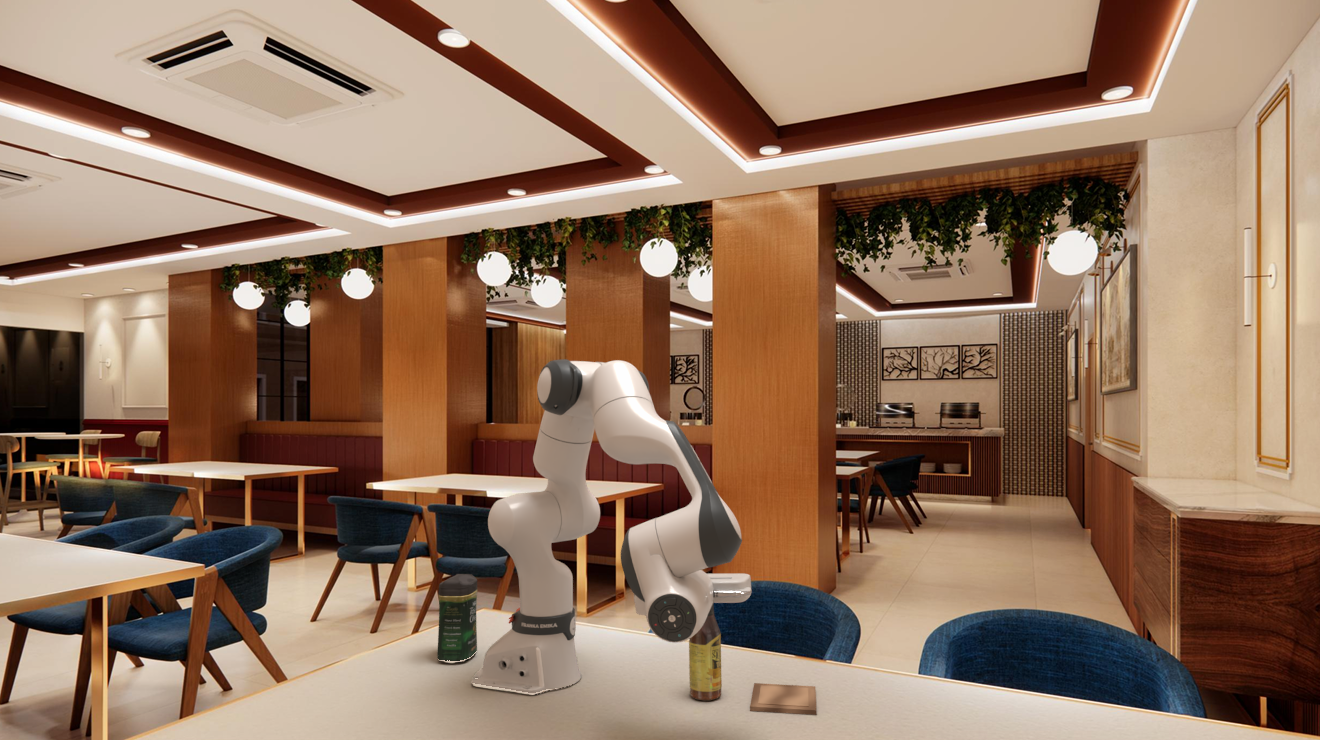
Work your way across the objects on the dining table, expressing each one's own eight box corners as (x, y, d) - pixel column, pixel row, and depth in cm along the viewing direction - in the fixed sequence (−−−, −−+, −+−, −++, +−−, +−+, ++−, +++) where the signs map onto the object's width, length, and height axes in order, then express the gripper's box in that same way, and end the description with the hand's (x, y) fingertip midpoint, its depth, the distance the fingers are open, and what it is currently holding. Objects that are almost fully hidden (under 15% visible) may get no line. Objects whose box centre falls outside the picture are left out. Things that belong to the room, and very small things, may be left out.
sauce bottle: (719, 703, 138) (717, 596, 140) (687, 701, 140) (685, 595, 141) (723, 690, 145) (721, 588, 146) (692, 688, 146) (690, 587, 147)
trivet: (750, 710, 135) (750, 705, 135) (754, 687, 146) (754, 682, 146) (816, 714, 132) (816, 709, 132) (815, 690, 144) (815, 685, 144)
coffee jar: (467, 665, 162) (467, 580, 163) (432, 665, 163) (433, 580, 164) (481, 651, 172) (482, 571, 173) (449, 651, 172) (449, 571, 174)
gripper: (749, 574, 117) (753, 560, 131) (625, 575, 121) (641, 561, 134) (751, 614, 117) (755, 596, 130) (626, 614, 120) (642, 596, 134)
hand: (696, 578), depth 132 cm, fingers open, 8 cm apart
